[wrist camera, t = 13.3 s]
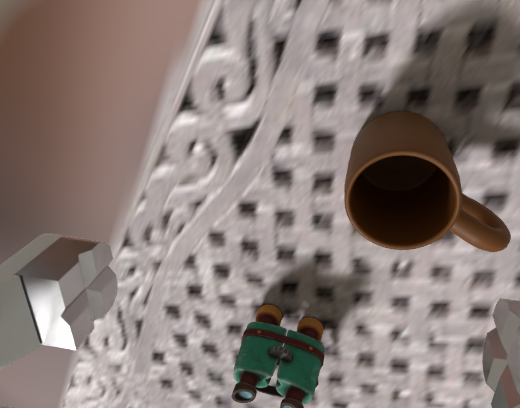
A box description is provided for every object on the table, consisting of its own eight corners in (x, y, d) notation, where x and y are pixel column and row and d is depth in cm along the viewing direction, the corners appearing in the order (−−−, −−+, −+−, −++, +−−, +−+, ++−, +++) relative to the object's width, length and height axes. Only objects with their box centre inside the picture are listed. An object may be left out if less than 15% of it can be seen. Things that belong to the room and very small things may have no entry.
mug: (517, 158, 35) (558, 214, 27) (459, 231, 39) (479, 298, 31) (379, 92, 35) (378, 126, 27) (335, 170, 39) (322, 221, 31)
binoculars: (212, 434, 44) (221, 375, 38) (243, 350, 53) (254, 292, 47) (299, 465, 43) (321, 409, 37) (316, 374, 52) (337, 317, 46)
